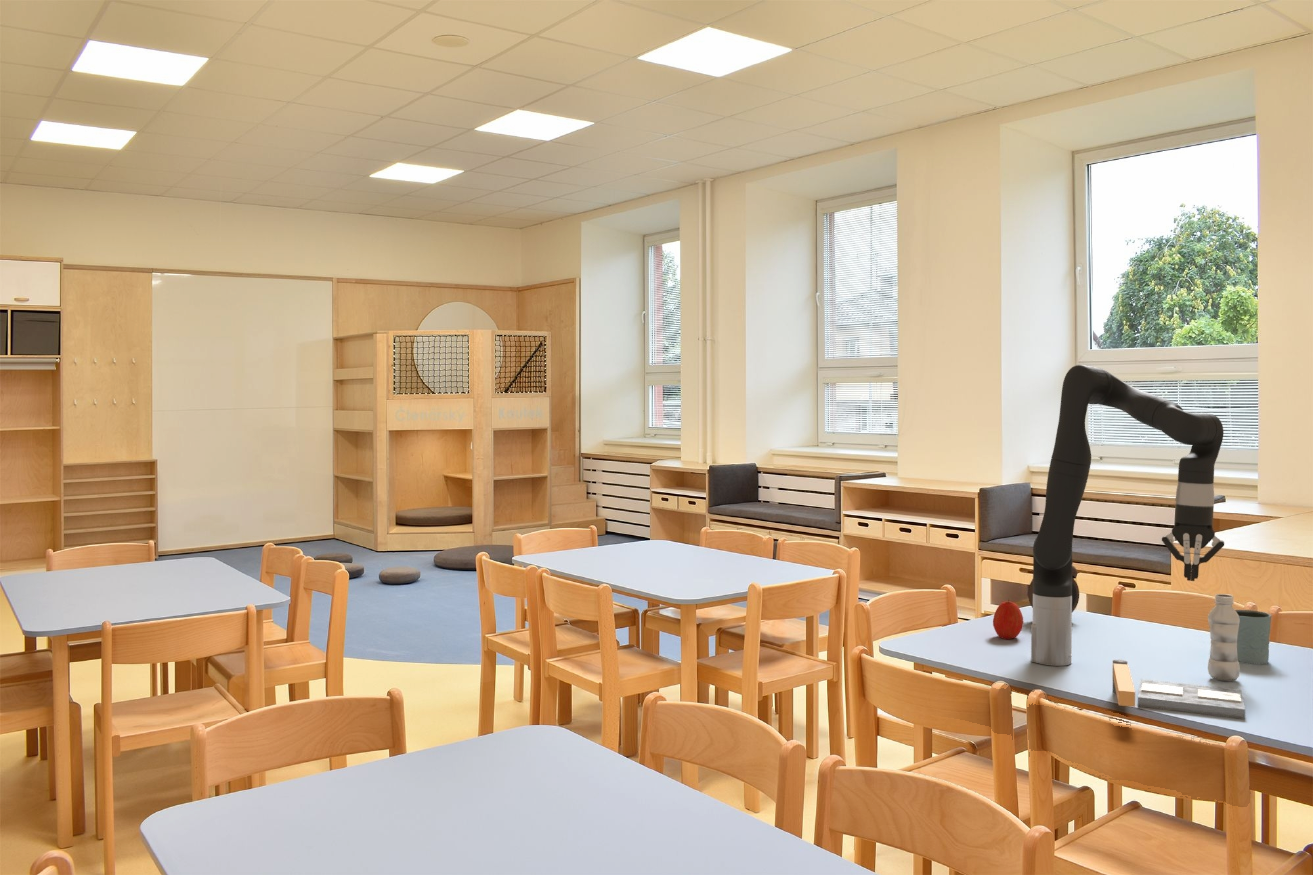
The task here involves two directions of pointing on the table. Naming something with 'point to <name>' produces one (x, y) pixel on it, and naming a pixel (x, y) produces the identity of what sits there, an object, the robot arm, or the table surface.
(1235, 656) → the plastic bottle
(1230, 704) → the label board
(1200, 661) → the table surface
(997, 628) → the apple
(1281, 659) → the table surface
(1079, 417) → the robot arm
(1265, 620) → the teal cup
